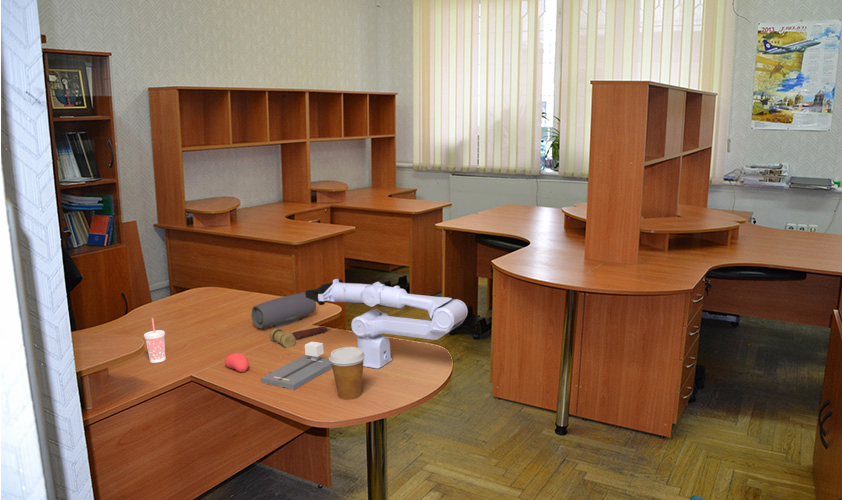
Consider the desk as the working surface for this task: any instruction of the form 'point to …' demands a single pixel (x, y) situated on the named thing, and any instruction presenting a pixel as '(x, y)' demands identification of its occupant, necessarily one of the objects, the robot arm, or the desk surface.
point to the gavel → (294, 335)
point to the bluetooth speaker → (282, 310)
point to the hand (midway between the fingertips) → (314, 291)
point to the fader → (314, 350)
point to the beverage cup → (155, 344)
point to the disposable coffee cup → (348, 371)
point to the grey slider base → (297, 372)
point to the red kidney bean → (237, 362)
